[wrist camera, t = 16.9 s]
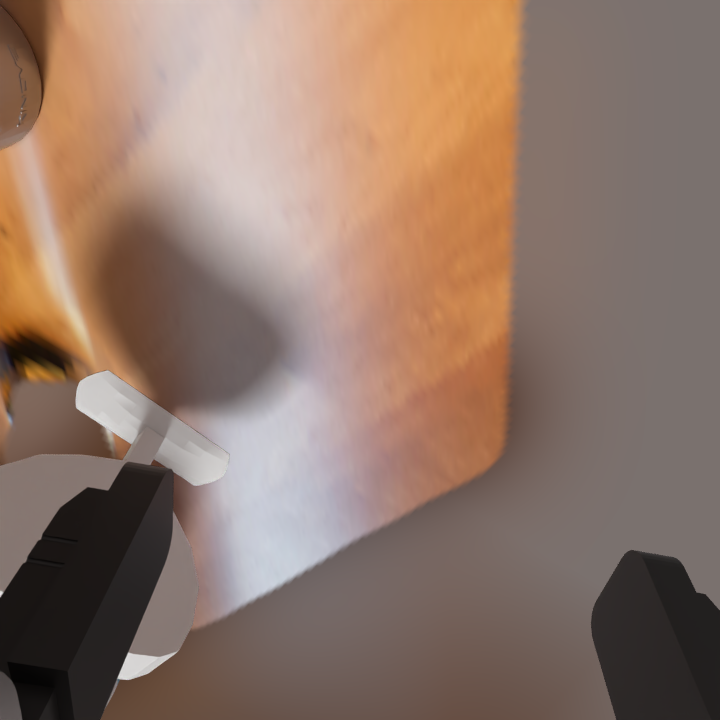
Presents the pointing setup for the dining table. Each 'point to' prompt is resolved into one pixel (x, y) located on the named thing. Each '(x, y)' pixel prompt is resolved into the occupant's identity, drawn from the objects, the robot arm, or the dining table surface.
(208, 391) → the dining table surface
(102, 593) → the robot arm
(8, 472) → the heart sculpture
